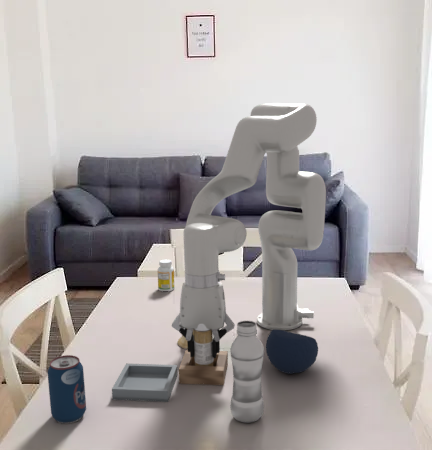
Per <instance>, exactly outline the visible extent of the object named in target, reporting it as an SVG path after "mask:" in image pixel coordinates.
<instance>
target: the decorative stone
mask: <svg viewBox="0 0 432 450" xmlns="http://www.w3.org/2000/svg"><path fill="white" fill-rule="evenodd" d="M265 342H266V343H265V353H266V355H267V358H268V360H269V362H270V364H271V365H272V366H273V367H274V368H276V370H278V371H280V372H282V373H285V374H291V375H292V374H300V373H302V372H305V371H306V370H309V368H311V367H312V366H313V365H314V364H315V362H316V361H317V357H318V353H319V346H318V342H317V340H316V338H314V337H312V336H308V335H305V334H300V333H294V332H291V331H288V330H278V329H274V330H270V332H269V334H268V336H267V339H266V341H265Z"/></svg>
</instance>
